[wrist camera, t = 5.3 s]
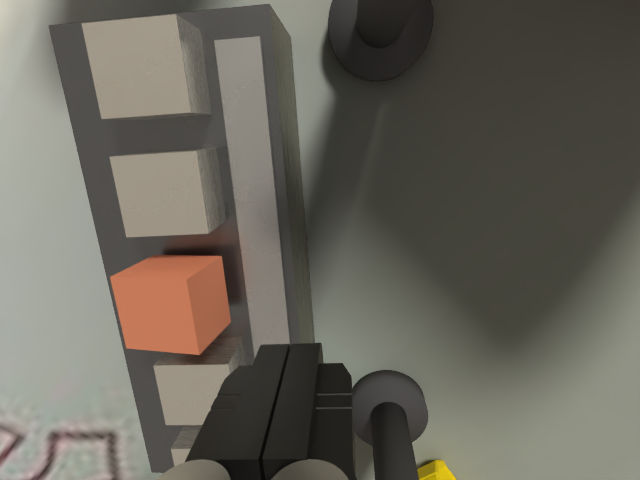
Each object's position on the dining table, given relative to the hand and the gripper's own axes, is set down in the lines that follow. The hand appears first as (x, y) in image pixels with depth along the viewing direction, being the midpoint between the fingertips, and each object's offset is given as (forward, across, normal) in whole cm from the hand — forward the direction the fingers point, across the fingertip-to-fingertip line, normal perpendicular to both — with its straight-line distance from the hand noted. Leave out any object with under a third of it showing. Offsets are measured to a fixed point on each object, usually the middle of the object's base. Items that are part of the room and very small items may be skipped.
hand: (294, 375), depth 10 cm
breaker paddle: (+6, +5, 0) cm, 8 cm away
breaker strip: (+11, +5, 0) cm, 12 cm away
